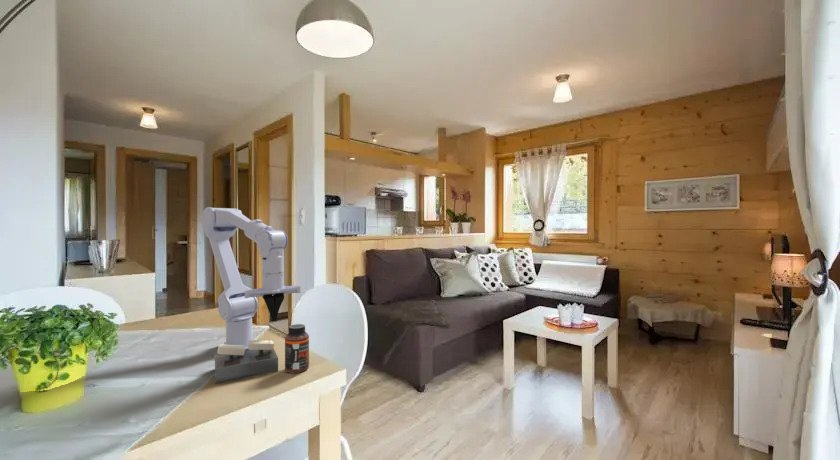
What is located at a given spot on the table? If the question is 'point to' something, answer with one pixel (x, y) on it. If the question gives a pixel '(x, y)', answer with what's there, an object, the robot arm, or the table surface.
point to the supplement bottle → (296, 349)
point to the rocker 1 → (231, 349)
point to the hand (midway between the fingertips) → (273, 320)
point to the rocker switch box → (245, 365)
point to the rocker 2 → (260, 345)
